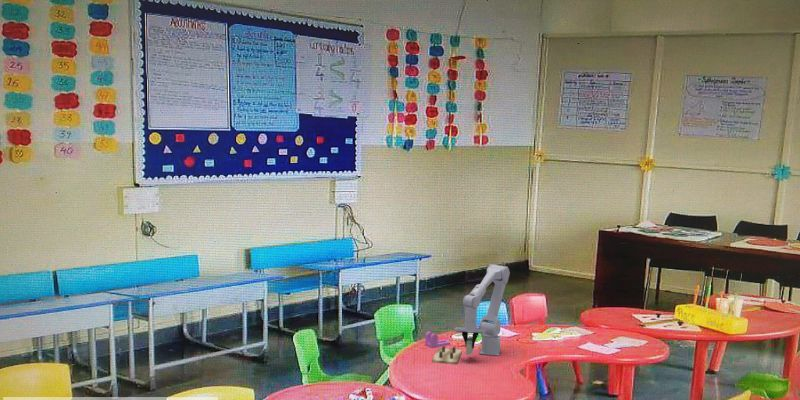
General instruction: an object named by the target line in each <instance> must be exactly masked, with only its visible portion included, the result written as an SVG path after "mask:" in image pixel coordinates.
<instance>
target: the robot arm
mask: <svg viewBox="0 0 800 400" xmlns="http://www.w3.org/2000/svg"><path fill="white" fill-rule="evenodd" d="M510 274H511V272H510V269H509V267H508V266H505V265H504V266H503V265H499V264H494V263H490V264H489V265H488V267H487V268H486V274H485V276H484V277H483V279H482V280H481V282H480V284H479V283H478V284H476V285H475V286H474V288H473V289H472V290H471V291H470V292H469V294H466V295H465V296H464V297H463V299H462V305H463V310H464V326H463V327H455V328H454V333H462V334H461V336H462V339H463V340H464V341H463V342H464V344H465V346H466V342H467V340H468V337H469V334H472V337H473V343H472V348H473V349H474V348H475V344H476V343H475V342H476V340H477V338H478V336H479V334H480V335H481V345H480V347H481V348H480V351H479V354H480V355H487V356H499V355H500V352H501V335H499V334H500V332H501V324H502V322H501V321H500V319H499V318H498V315H499V313H500V308H501V304H502V300H503V296H504V292H505V290H506V289H505V288H506V285H507V284H508V281H509V277H510ZM491 283H494V286H493V291H492V295H491V298H490V302H489V305H488V310H487V312H486V315H484V316H482V317H481V319H480V322H479V324H478V325H477V321H478V318H477V317H478V308H479V306H480V304H481V302H482V299H483V296H484V295H486V293H487V288H488V286H489V285H491ZM477 326H478V327H477Z"/></svg>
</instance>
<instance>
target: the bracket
mask: <svg viewBox="0 0 800 400" xmlns="http://www.w3.org/2000/svg"><path fill="white" fill-rule="evenodd" d="M438 339H439V336H438V334H436V333H433V332H432V331H427V332H426V333H425V344H424V345H425V346H427V347H429V348H430V349H433V348H440V347H443V346H445V347H446V346H450V345H451V340H449V339H439V340H438Z"/></svg>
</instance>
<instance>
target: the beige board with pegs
mask: <svg viewBox="0 0 800 400" xmlns="http://www.w3.org/2000/svg"><path fill="white" fill-rule="evenodd" d="M462 354H463V349H460V348H459V349H457V348H456V346H453V347H452V348H446V345H445V346H441V347H437V350H436V352H435V354H434V356H433V358H432V359H431V362H432V363H438V364H439V363H440V364H451V365H458V363H459V362H460V361H459V360H460V357H461V355H462Z"/></svg>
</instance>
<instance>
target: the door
mask: <svg viewBox="0 0 800 400" xmlns="http://www.w3.org/2000/svg"><path fill="white" fill-rule="evenodd" d="M472 343H473V336H469V335H468V340H467V342H466V345H465V348H466V349H465V355H467V356H471V355H472V353H473V351H474V348H472Z"/></svg>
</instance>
